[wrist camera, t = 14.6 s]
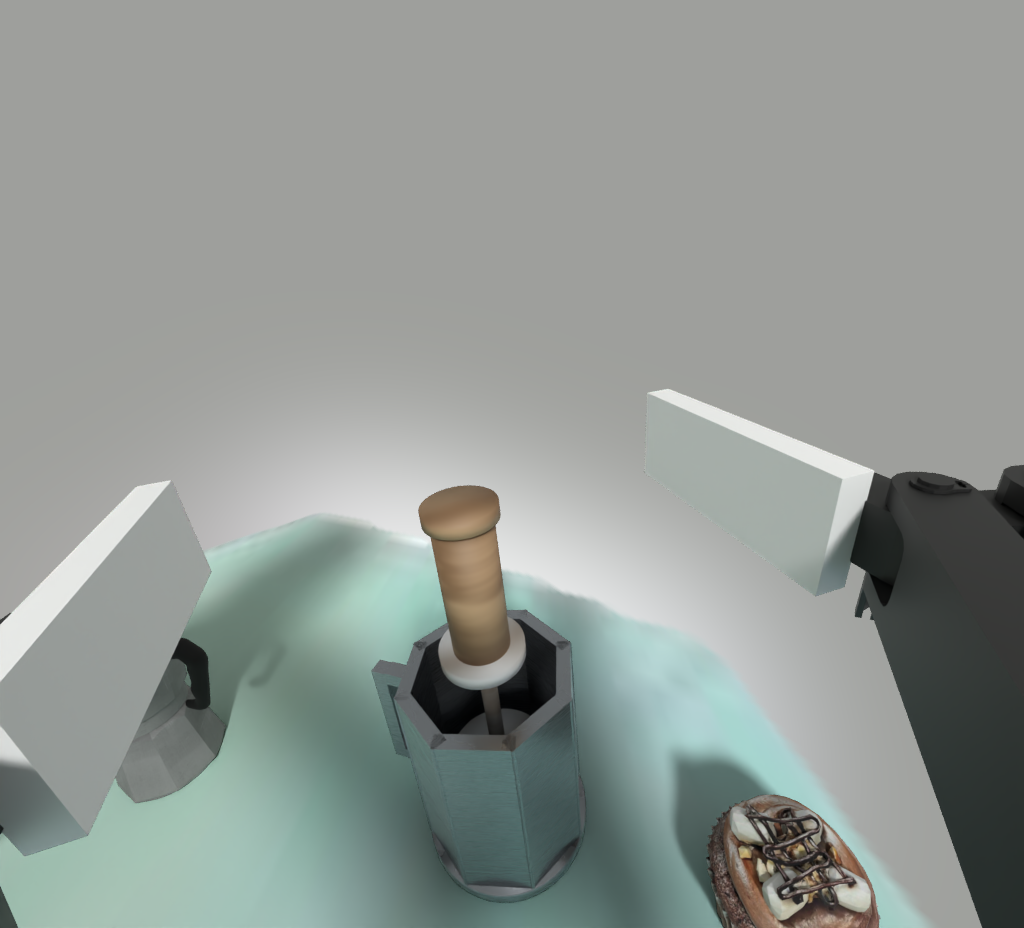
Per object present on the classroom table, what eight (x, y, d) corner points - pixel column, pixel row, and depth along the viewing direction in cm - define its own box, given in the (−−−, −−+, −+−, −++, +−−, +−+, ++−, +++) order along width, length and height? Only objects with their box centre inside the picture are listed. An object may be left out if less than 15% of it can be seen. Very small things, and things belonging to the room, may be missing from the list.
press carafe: (391, 780, 43) (349, 650, 37) (502, 695, 50) (483, 573, 44) (495, 952, 32) (462, 807, 25) (618, 810, 39) (617, 669, 32)
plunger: (432, 758, 38) (368, 507, 29) (508, 698, 43) (474, 464, 33) (492, 840, 32) (436, 560, 23) (572, 761, 37) (553, 499, 27)
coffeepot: (76, 800, 44) (-33, 658, 37) (157, 711, 53) (82, 582, 46) (221, 813, 42) (136, 665, 35) (281, 718, 50) (223, 583, 43)
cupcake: (906, 989, 28) (952, 901, 24) (765, 1051, 27) (790, 968, 23) (787, 821, 37) (807, 735, 33) (675, 861, 35) (681, 775, 31)
